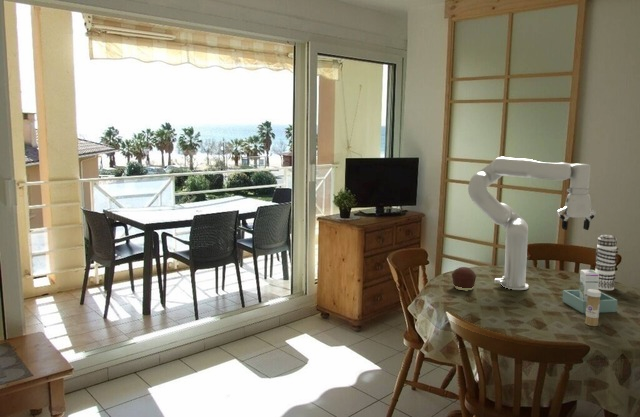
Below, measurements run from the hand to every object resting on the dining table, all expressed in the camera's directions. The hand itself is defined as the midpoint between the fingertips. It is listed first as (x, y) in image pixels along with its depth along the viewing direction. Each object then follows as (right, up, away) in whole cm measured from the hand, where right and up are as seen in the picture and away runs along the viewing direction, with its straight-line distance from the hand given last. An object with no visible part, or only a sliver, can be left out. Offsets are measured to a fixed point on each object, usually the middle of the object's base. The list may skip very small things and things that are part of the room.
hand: (575, 229), depth 225 cm
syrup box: (-2, -31, -14) cm, 34 cm away
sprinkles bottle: (-11, -35, -34) cm, 50 cm away
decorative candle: (+19, -28, +11) cm, 36 cm away
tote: (-1, -32, -14) cm, 35 cm away
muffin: (-47, -29, +12) cm, 56 cm away
